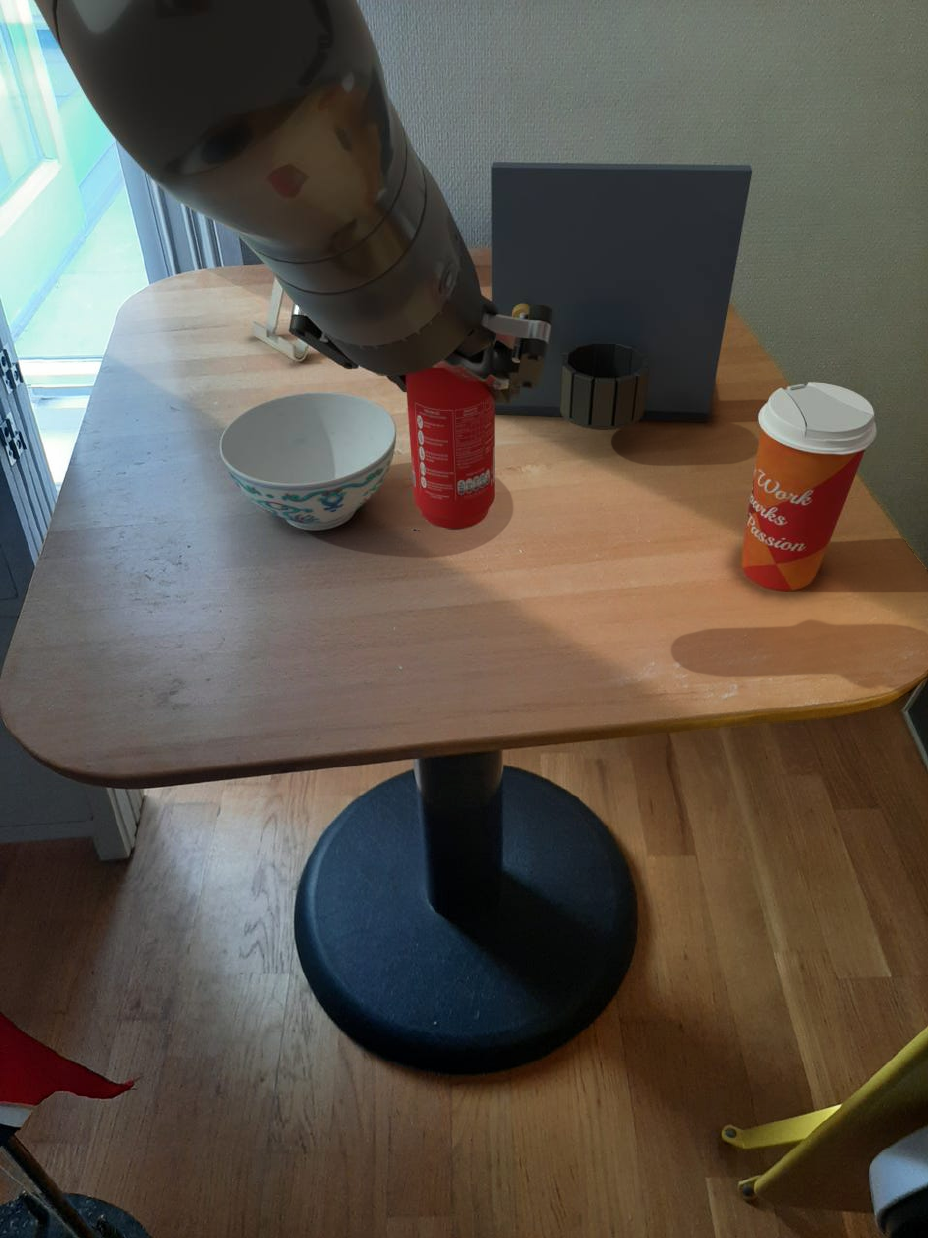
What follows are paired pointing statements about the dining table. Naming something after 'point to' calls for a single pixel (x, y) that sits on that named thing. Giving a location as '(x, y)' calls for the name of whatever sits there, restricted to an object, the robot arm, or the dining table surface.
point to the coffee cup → (802, 480)
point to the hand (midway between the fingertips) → (458, 381)
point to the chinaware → (310, 456)
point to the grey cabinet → (619, 283)
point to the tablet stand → (269, 329)
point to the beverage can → (451, 447)
